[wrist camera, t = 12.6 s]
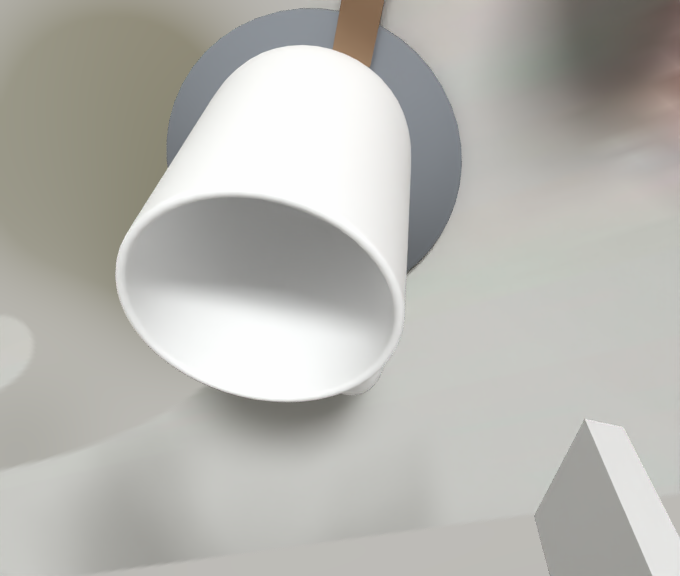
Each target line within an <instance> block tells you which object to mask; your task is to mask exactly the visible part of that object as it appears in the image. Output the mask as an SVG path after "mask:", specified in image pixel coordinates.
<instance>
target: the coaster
mask: <svg viewBox="0 0 680 576" xmlns="http://www.w3.org/2000/svg"><path fill="white" fill-rule="evenodd" d="M338 17H339V11H334V10H328V9H311V8H300V9H293V10H286V11H279V12H276V13H272V14H269V15H266V16H262V17H259V18H256V19H254V20H252V21H250V22H247V23H245V24H243V25H241V26H239V27H237V28H236V29H234V30H232V31H231V32H229V33H228V34H226V35H225V36H223V37H222V38H220V39H219V40H218V41H217V42H216V43H215V44H214V45H213V46H211V47H210V48H209V49H208V50H207V51H206V52H205V53H204V54H203V55H202V57H201V58H200V59H199V61H197V63H196V64H195V65H194V66H193V67H192V69H191V71H190V72H189V74H188V76H187V77H186V79H185V80H184V82H183V84H182V86H181V88H180V90H179V93H178V96H177V97H176V100H175V102H174V106H173V109H172V113H171V116H170V120H169V127H168V134H167V164H168V167H169V166H170V164H171V163H172V161H173V159H174V158H175V156H176V155H177V153H178V152H179V150H180V148H181V147H182V145H183V144H184V142H185V140H186V139H187V137H188V136H189V134H190V133H191V131H192V129H193V128H194V126H195V125H196V123H197V122H198V120H199V118H200V117H201V115H202V114H203V112H204V110H205V109H206V107H207V106H208V104H209V103H210V101H211V99H212V98H213V96H214V95H215V94H216V92H217V91H218V89H219V88H220V87H221V85H222V84H223V83H224V81H225V80H226V79H227V78H228V77H229V76H230V75H231V74H232V73H233V72H234V71H235V70H236V69H237V68H239V67H240V66H241V65H243V64H244V63H245V62H247V61H248V60H250V59H251V58H253V57H255V56H257V55H259V54H261V53H263V52H266V51H269V50H272V49H275V48H280V47H285V46H294V45H309V46H319V47H324V48H328V49H333V44H334V38H335V33H336V28H337V22H338ZM368 68H370V69H371V70H372V71H373V72H374V73H376V74H377V75H378V76H379V77H380V78H381V79H382V80H383V81H384V82H385V84H386V85H387V86H388V87H389V88H390V90H391V91H392V93H393V94H394V96H395V97H396V99H397V100H398V102H399V104H400V107H401V109H402V111H403V113H404V116H405V119H406V123H407V126H408V130H409V136H410V143H411V180H410V203H409V227H408V251H407V271H408V270H409V269H411V268H412V267H413V266H414V265H415V264H417V263H418V262H419V261H420V260H421V259H422V258H423V256H424V255H425V254H426V253H427V252H428V251H429V250H430V249H431V247H432V246H433V245H434V243H435V242H436V241H437V239H438V238H439V236H440V235H441V233H442V231H443V229H444V228H445V226H446V224H447V222H448V220H449V218H450V215H451V213H452V210H453V207H454V205H455V202H456V198H457V194H458V190H459V185H460V177H461V167H462V159H461V142H460V137H459V131H458V125H457V122H456V119H455V116H454V113H453V110H452V106H451V104H450V102H449V100H448V98H447V96H446V94H445V92H444V90H443V88H442V86H441V84H440V83H439V81H438V80H437V78H436V77H435V75H434V73H433V72H432V70H431V69H430V68H429V66H428V65H427V64H426V63H425V62H424V61H423V60H422V58H421V57H420V56H419V55H418V54H417V53H416V52H415V51H414V50H413V49H412V48H411V47H409V46H408V45H407V44H406V43H405V42H404V41H403V40H401V39H400V38H399V37H397V36H396V35H394V34H393V33H391V32H389V31H388V30H386V29H385V28H383V27H381V26H379V28H378V32H377V37H376V42H375V46H374V51H373V56H372V60H371V65H370V67H368Z"/></svg>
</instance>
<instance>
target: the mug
mask: <svg viewBox="0 0 680 576" xmlns="http://www.w3.org/2000/svg"><path fill="white" fill-rule="evenodd" d="M410 180H411V143H410V136H409V130H408V126H407V123H406V119H405V116H404V113H403V111H402V109H401V107H400V104H399V102H398V100H397V99H396V97H395V96H394V94H393V93H392V91H391V90H390V88H389V87H388V86H387V85H386V84H385V82H384V81H383V80H382V79H381V78H380V77H379V76H378V75H377V74H376V73H374V72H373V71H372V70H371V69H370V68H368V67H367V66H365V65H364V64H362V63H361V62H359V61H358V60H356V59H354V58H352V57H350V56H348V55H346V54H344V53H341V52H338V51H335V50H332V49H328V48H324V47H319V46H309V45H294V46H285V47H280V48H275V49H272V50H269V51H266V52H263V53H261V54H259V55H257V56H255V57H253V58H251V59H250V60H248V61H247V62H245V63H244V64H243V65H241V66H240V67H239V68H237V69H236V70H235V71H234V72H233V73H232V74H231V75H230V76H229V77H228V78H227V79H226V80H225V81H224V83H223V84H222V85H221V87H220V88H219V89H218V91H217V92H216V94H215V95H214V96H213V98H212V99H211V101H210V103H209V104H208V106H207V107H206V109H205V110H204V112H203V114H202V115H201V117H200V118H199V120H198V122H197V123H196V125H195V126H194V128H193V129H192V131H191V133H190V134H189V136H188V137H187V139H186V140H185V142H184V144H183V145H182V147H181V148H180V150H179V152H178V153H177V155H176V156H175V158H174V159H173V161H172V163H171V164H170V166H169V167H168V169H167V170H166V172H165V174H164V175H163V177H162V179H161V180H160V182H159V183H158V185H157V186H156V188H155V189H154V191H153V193H152V194H151V196H150V197H149V199H148V201H147V202H146V204H145V205H144V207H143V208H142V210H141V212H140V213H139V215H138V216H137V218H136V220H135V221H134V223H133V224H132V226H131V227H130V229H129V231H128V232H127V234H126V236H125V238H124V240H123V242H122V244H121V246H120V249H119V253H118V257H117V261H116V285H117V292H118V296H119V299H120V302H121V306H122V308H123V310H124V312H125V314H126V316H127V318H128V320H129V322H130V323H131V325H132V326H133V328H134V329H135V331H136V332H137V333H138V335H139V336H140V337H141V338H142V340H143V341H144V342H145V343H146V344H147V345H148V346H149V347H150V348H151V349H152V350H153V351H154V352H155V353H156V354H157V355H158V356H160V357H161V358H162V359H163V360H165V361H166V362H167V363H168V364H170V365H171V366H173V367H174V368H176V369H177V370H179V371H180V372H182V373H184V374H185V375H187V376H189V377H191V378H193V379H194V380H196V381H199V382H201V383H203V384H205V385H207V386H209V387H212V388H215V389H217V390H220V391H223V392H226V393H229V394H233V395H236V396H240V397H244V398H250V399H255V400H262V401H270V402H305V401H312V400H319V399H324V398H328V397H332V396H335V395H338V394H346V395H358V394H362V393H364V392H366V391H368V390H369V389H371V388H372V387H373V386H374V385H375V383H376V382H377V381H378V379H379V378H380V375H381V373H382V370H383V366H384V365H385V364H386V363H387V362H388V360H389V359H390V358H391V356H392V354H393V353H394V351H395V349H396V347H397V346H398V344H399V341H400V338H401V335H402V332H403V326H404V320H405V298H406V274H407V251H408V227H409V203H410Z"/></svg>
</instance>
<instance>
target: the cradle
mask: <svg viewBox="0 0 680 576" xmlns="http://www.w3.org/2000/svg"><path fill="white" fill-rule="evenodd" d="M383 4H384V0H341V6H340V11H339V17H338V22H337V28H336V33H335V38H334V44H333V49H332V50H335V51H338V52H341V53H344V54H346V55H348V56H350V57H352V58H354V59H356V60H358V61H359V62H361V63H362V64H364V65H365V66H367V67H370V65H371V60H372V56H373V51H374V46H375V42H376V37H377V32H378V28H379V23H380V18H381V14H382V9H383Z"/></svg>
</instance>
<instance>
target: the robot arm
mask: <svg viewBox="0 0 680 576" xmlns="http://www.w3.org/2000/svg"><path fill="white" fill-rule="evenodd" d="M534 517H535V521H536V525H537V528H538V532H539V536H540V540H541V544H542V548H543V551H544V555H545V559H546V563H547V567H548V571H549V574H550V576H680V538H679V536H678V534H677V532H676V530H675V528H674V526H673V524H672V522H671V520H670V518H669V516H668V514H667V512H666V510H665V508H664V506H663V504H662V502H661V500H660V498H659V496H658V494H657V493H656V491H655V489H654V487H653V485H652V483H651V481H650V479H649V477H648V475H647V473H646V471H645V469H644V467H643V465H642V463H641V461H640V459H639V457H638V455H637V453H636V451H635V449H634V447H633V445H632V443H631V441H630V439H629V437H628V435H627V433H626V432H625V430H624V428H623V427H621V426H616V425H611V424H607V423H602V422H597V421H593V420H588V419H584V421H583V423H582V425H581V427H580V429H579V431H578V433H577V435H576V437H575V439H574V440H573V442H572V444H571V446H570V448H569V450H568V452H567V454H566V456H565V458H564V460H563V462H562V464H561V465H560V467H559V469H558V471H557V473H556V475H555V477H554V479H553V481H552V483H551V485H550V487H549V488H548V490H547V492H546V494H545V496H544V498H543V500H542V502H541V504H540V506H539V508H538V510H537V511H536V513H535V515H534Z"/></svg>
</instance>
